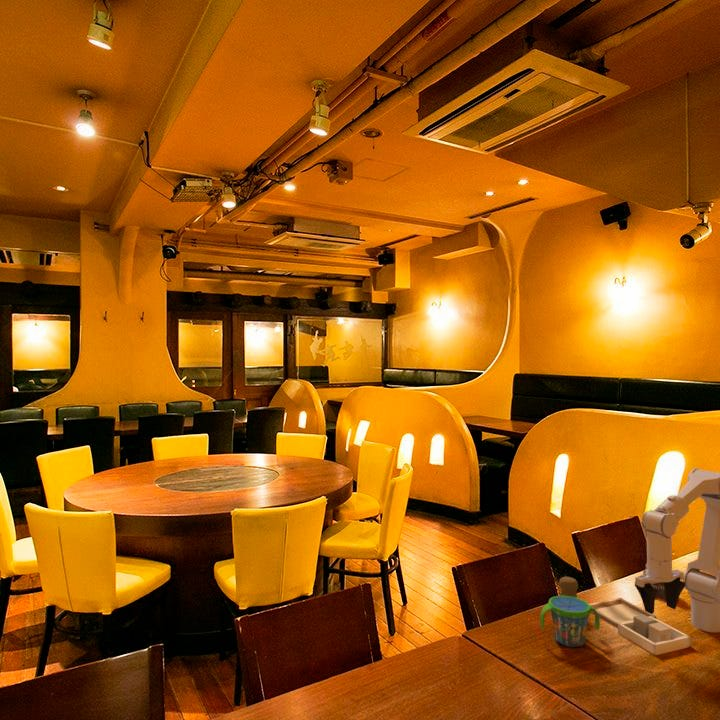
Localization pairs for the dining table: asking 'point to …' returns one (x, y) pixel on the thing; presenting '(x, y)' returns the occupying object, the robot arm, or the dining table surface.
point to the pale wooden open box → (673, 644)
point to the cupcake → (659, 587)
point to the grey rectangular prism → (642, 624)
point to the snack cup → (569, 619)
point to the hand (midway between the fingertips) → (660, 609)
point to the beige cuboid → (658, 632)
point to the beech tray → (618, 611)
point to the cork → (568, 586)
